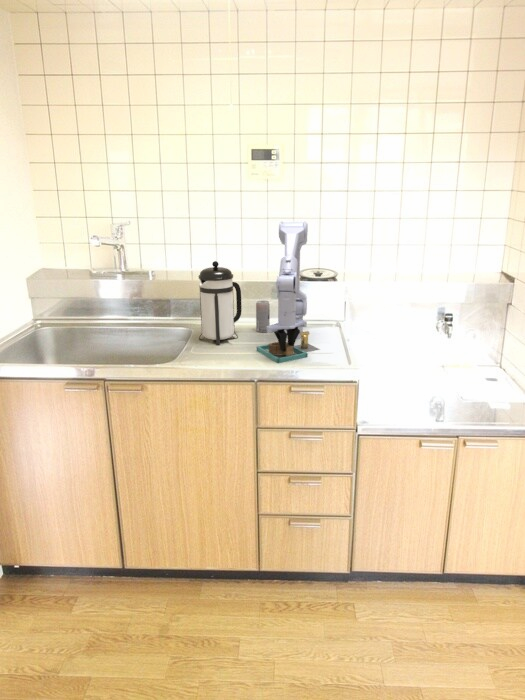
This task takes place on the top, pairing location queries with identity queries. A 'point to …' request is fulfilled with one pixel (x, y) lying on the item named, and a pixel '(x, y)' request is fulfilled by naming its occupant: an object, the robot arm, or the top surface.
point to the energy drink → (262, 316)
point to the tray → (300, 355)
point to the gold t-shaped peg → (304, 339)
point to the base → (310, 348)
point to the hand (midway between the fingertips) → (286, 349)
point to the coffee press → (218, 303)
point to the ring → (275, 349)
